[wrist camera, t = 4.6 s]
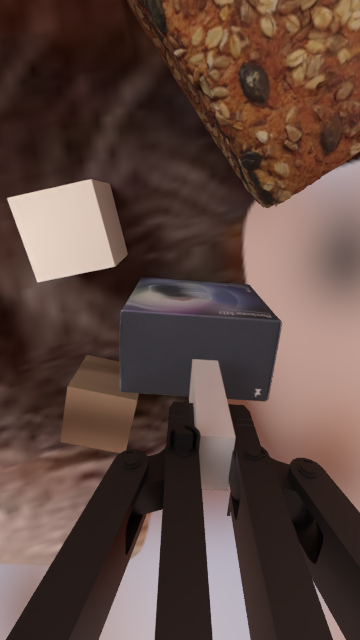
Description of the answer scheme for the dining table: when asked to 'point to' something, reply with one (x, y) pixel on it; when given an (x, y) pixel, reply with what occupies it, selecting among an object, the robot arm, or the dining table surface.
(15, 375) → the dining table surface
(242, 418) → the robot arm
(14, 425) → the dining table surface
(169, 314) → the small box
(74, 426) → the walnut block
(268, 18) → the bread
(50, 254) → the cream block
